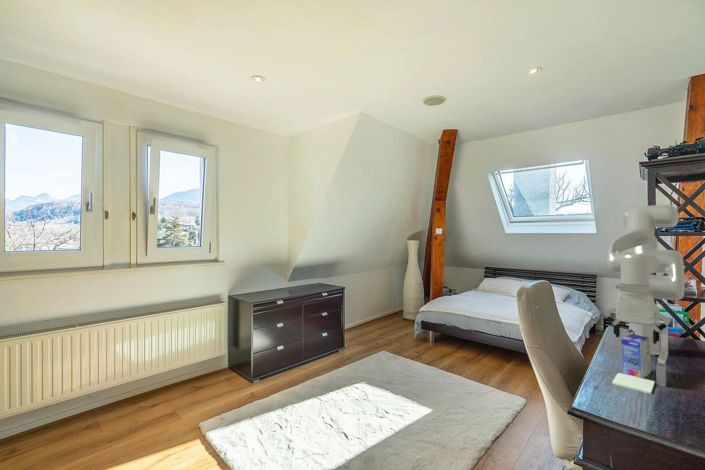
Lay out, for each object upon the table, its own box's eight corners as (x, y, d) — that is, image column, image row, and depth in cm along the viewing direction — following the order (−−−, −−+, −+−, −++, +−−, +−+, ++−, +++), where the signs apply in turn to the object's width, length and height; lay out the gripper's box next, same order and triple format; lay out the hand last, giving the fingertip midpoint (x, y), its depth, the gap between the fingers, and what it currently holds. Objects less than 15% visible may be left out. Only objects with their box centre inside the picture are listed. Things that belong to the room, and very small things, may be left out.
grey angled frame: (625, 345, 120) (625, 310, 120) (668, 353, 111) (667, 315, 111) (618, 355, 109) (617, 316, 110) (664, 364, 101) (663, 322, 101)
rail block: (657, 381, 104) (657, 362, 104) (666, 383, 102) (666, 364, 102) (656, 384, 101) (656, 365, 101) (665, 386, 99) (665, 367, 100)
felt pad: (618, 374, 109) (618, 372, 109) (654, 383, 102) (654, 381, 102) (612, 384, 101) (612, 382, 101) (650, 394, 95) (650, 392, 95)
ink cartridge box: (631, 367, 115) (630, 327, 115) (651, 372, 110) (650, 330, 110) (621, 373, 109) (620, 331, 109) (642, 379, 105) (641, 335, 105)
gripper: (601, 287, 114) (601, 336, 114) (669, 293, 101) (670, 348, 101) (605, 286, 119) (606, 332, 119) (671, 291, 106) (672, 343, 106)
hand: (635, 339), depth 110 cm, fingers open, 9 cm apart
